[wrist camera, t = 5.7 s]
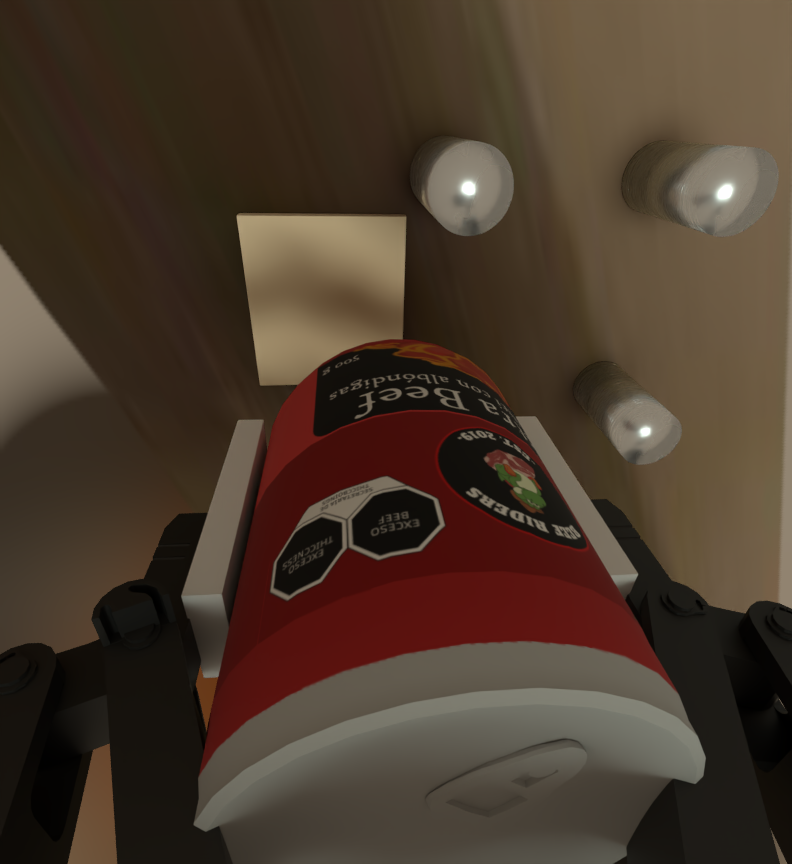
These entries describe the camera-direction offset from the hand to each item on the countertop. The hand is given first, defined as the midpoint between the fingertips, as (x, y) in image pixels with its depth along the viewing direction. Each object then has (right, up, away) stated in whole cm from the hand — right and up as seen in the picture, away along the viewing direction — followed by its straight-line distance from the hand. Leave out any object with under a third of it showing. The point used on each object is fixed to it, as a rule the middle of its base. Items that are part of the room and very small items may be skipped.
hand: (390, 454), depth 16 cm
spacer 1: (+3, +15, +11) cm, 18 cm away
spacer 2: (+14, +4, +19) cm, 24 cm away
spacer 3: (+15, +15, +12) cm, 24 cm away
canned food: (0, +1, +1) cm, 1 cm away
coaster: (-4, +8, +14) cm, 17 cm away
